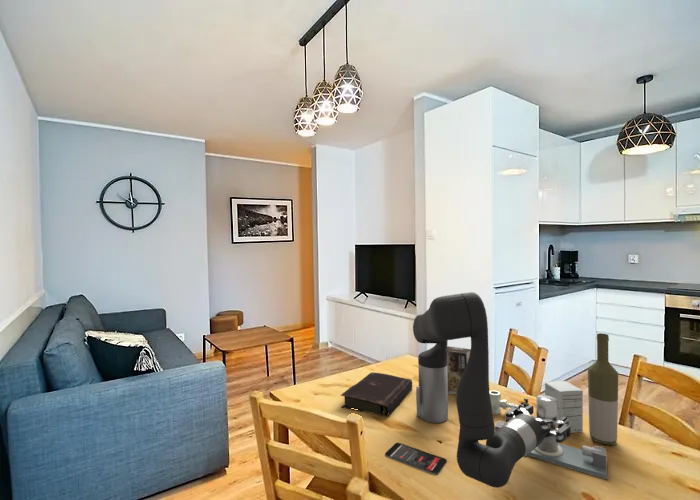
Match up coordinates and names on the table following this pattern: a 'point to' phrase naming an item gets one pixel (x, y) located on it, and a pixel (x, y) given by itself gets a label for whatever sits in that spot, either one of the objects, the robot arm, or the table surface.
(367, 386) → the diary
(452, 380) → the coffee box
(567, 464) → the shaft bench
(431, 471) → the smartphone
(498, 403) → the valve
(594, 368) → the bottle
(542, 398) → the sleeve
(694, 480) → the table surface
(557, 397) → the supplement box
